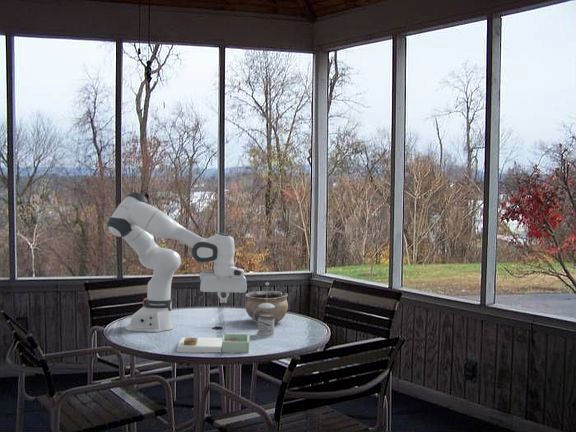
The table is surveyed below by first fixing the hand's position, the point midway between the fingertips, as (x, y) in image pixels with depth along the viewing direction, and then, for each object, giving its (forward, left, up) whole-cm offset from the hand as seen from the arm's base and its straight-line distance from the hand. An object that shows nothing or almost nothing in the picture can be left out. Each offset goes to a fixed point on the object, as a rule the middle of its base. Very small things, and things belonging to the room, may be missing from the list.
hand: (223, 302), depth 279 cm
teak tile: (-13, -7, -17) cm, 22 cm away
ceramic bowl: (+19, +50, -19) cm, 57 cm away
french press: (+18, +22, -19) cm, 34 cm away
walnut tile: (+5, 0, -19) cm, 19 cm away
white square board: (-9, -3, -19) cm, 21 cm away
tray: (+6, -3, -19) cm, 20 cm away
